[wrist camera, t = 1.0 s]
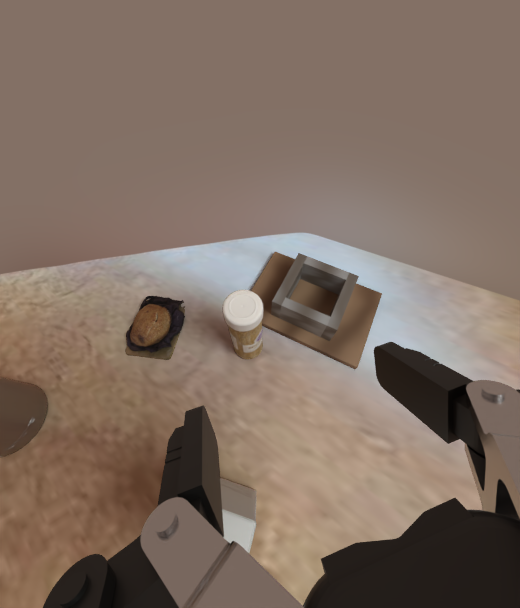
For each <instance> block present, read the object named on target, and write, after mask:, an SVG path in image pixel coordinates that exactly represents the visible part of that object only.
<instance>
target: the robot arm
mask: <svg viewBox="0 0 520 608" xmlns="http://www.w3.org/2000/svg"><path fill="white" fill-rule="evenodd" d="M374 357H375V366H376V375H377V379H378V381H379V383H380V385H381V386H382V387H383V389H385V390H386V391H387V392H388V393H389V394H390V395H392V396H393V397H394V398H395V399H396V400H397V401H399V402H400V403H401V404H402V405H403V406H404V407H406V408H407V409H408V410H409V411H410V412H411V413H413V414H414V415H415V416H416V417H417V418H418V419H420V420H421V421H422V422H423V423H424V424H426V425H427V426H428V427H429V428H430V429H431V430H433V431H434V432H435V433H436V434H437V435H438V436H440V437H441V438H442V439H443V440H444V441H445V442H447V443H448V444H449V443H451V442H454V441H456V440H458V439H461V440H462V441H463V442H465V452H466V455H467V458H468V461H469V464H470V468H471V471H472V474H473V477H474V480H475V483H476V487H477V490H478V493H479V496H480V500H481V504H482V510H483V511H482V510H466V509H465V507H464V506H463V505H462V504H461V503H460V502H459V501H458V500H457V499H456V498H453V499H451V500H449V501H447V502H444V503H442V504H440V505H438V506H436V507H434V508H431V509H429V510H427V511H425V512H423V514H422V515H421V516H420V517H419V518H418V519H417V520H416V521H415V522H414V523H413V524H412V525H411V526H410V527H409V528H408V529H407V530H406V531H405V532H404V533H403V534H402V536H400V537H399V538H397V539H391V540H381V541H371V542H360V543H355V544H353V545H350V546H348V547H346V548H344V549H342V550H339V551H337V552H335V553H333V554H331V555H328V556H326V557H324V558H322V559H321V561H322V565H323V569H324V573H325V574H324V575H323V576H322V577H321V578H320V579H319V580H318V581H317V583H316V584H315V585H314V587H313V588H312V590H311V591H310V593H309V595H308V597H307V599H306V600H305V603H304V605H303V606H302V605H301V604H300V603H299V602H298V601H297V600H296V599H295V598H294V597H293V596H292V595H291V594H290V593H289V592H288V591H287V590H286V589H285V588H284V587H283V586H282V585H281V584H280V583H279V582H278V581H277V580H276V579H275V578H274V577H273V576H271V575H270V574H269V573H268V572H267V571H266V570H265V569H264V568H263V567H262V566H261V565H260V564H259V563H258V562H257V561H256V560H255V559H254V558H253V557H252V556H251V555H250V554H249V553H248V552H247V551H246V550H245V549H244V548H243V547H242V546H241V545H239V544H238V543H237V542H235V541H232V542H231V543H229V542H228V541H227V540H225V539H224V538H223V537H224V528H223V513H222V499H221V484H220V470H219V455H218V445H217V440H216V436H215V433H214V430H213V428H212V425H211V422H210V419H209V417H208V414H207V411H206V409H205V407H204V406H200V407H198V408H195V409H192V410H189V411H186V413H185V421H184V426H182V427H179V428H176V429H175V430H174V432H173V434H172V436H171V437H170V439H169V441H168V447H167V455H166V459H165V465H164V471H163V477H162V483H161V489H160V495H159V501H158V506H157V508H156V509H155V510H154V511H153V512H152V513H151V514H150V516H149V517H148V519H147V520H146V522H145V524H144V526H143V529H142V532H141V535H140V536H139V537H138V538H137V539H136V540H134V541H133V542H132V543H131V544H129V545H128V546H127V547H125V548H124V549H123V550H121V551H120V552H118V553H117V554H116V555H114V556H113V557H112V558H110V559H109V560H108V561H107V560H106V559H105V558H104V557H103V556H102V555H99V554H93V555H89V556H87V557H85V558H83V559H81V560H80V561H78V562H77V563H75V564H74V565H73V566H72V567H71V568H70V569H69V570H68V571H67V572H66V573H65V574H64V575H63V576H62V577H61V578H60V579H59V581H58V582H57V583H56V585H55V586H54V588H53V589H52V591H51V592H50V594H49V596H48V598H47V599H46V602H45V604H44V606H43V608H520V390H515V389H513V388H512V387H510V386H508V385H505V384H502V383H499V382H495V381H489V380H478V381H472V380H470V379H468V378H467V377H465V376H463V375H461V374H459V373H457V372H456V371H454V370H452V369H450V368H448V367H446V366H444V365H443V364H439V362H437V361H435V360H433V359H430V357H428V356H426V355H424V354H422V353H421V352H418V351H414V350H411V349H407V348H406V349H404V348H402V347H401V346H399V345H397V344H395V343H393V342H389V343H386V344H383V345H380V346H377V347H375V348H374ZM47 406H48V405H47V398H46V396H45V393H44V392H43V391H42V389H40V388H39V387H37V386H35V385H32V384H28V383H24V382H19V381H15V380H11V379H7V378H2V377H0V457H2V456H6V455H9V454H12V453H14V452H16V451H17V450H19V449H21V448H22V447H23V446H25V445H26V444H27V443H28V442H29V441H30V440H31V439H32V438H33V437H34V436H35V435H36V433H37V432H38V431H39V429H40V428H41V426H42V424H43V422H44V420H45V416H46V413H47Z"/></svg>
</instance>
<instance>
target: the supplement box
mask: <svg viewBox="0 0 520 608" xmlns="http://www.w3.org/2000/svg"><path fill="white" fill-rule="evenodd" d="M220 484H221V499H222V513H223V528H224V537H223V538H224V539H225V540H227V541H228V542H229V543H231V542H232V541H235V542H237V543H238V544H239V545H241V546H242V547H243V548H244V549H245V550H246V551H247V552H248V553H249V552H250V548H251V544H252V540H253V536H254V531H255V527H256V490H254V489H251V488H249V487H246V486H243V485H240V484H237V483H234V482H232V481H229V480H226V479H223V478H220Z"/></svg>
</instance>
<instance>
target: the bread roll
mask: <svg viewBox="0 0 520 608" xmlns="http://www.w3.org/2000/svg"><path fill="white" fill-rule="evenodd" d="M148 298H149V299H150V298H151V299H150V300H148ZM182 303H184V302H183V301H177V300H172V299H170V298H163V297H157V296H148V297H146V299H145V300H144V301H143V303H142V304H141V307H140V309H139V312H138V314H137V315H136V317H135V319H134V322H133V324H132V325H131V327H130V329H129V331H128V332H127V334H126V337H127V348H126V350H125V352H126V354H127V355H133V356H140V357H148V358H156V359H164V360H169V359H170V358H171V356H172V354H173V351H174V348H175V345H176V342H177V340H178V337H179V334H180V331H181V329H182V326H183V321H184V317H185V316H184V313H185V309H184V308H185V306H184V307H181V304H182Z"/></svg>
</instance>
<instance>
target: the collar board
mask: <svg viewBox="0 0 520 608" xmlns="http://www.w3.org/2000/svg"><path fill="white" fill-rule="evenodd" d="M358 277H359V276H357V275H354V274H351V273H349V272H346V271H344V270H341V269H338V268H336V267H333V266H331V265H328V264H325V263H323V262H320V261H318V260H315V259H313V258H310V257H307V256H305V255H302V254H300V253H299V254H298V256H297V257H296V259H293V258H290V257H287V256H285V255H282V254H280V253H277V252H275V253H274V254H273V256H272V257H271V259H270V261H269V262H268V264H267V266H266V267H265V269H264V270H263V272H262V274H261V275H260V277H259V279H258V280H257V282H256V284H255V285H254V287H253V288H252V290H251V291H252V292H254V293H255V294H257V295H258V296H259V297H260V299H261V300H262V303H263V318H262V326H264V327H266V328H268V329H271V330H273V331H275V332H277V333H279V334H281V335H283V336H285V337H288V338H290V339H292V340H294V341H296V342H298V343H300V344H302V345H305V346H307V347H309V348H311V349H313V350H315V351H317V352H320V353H322V354H324V355H326V356H328V357H330V358H332V359H334V360H337V361H339V362H341V363H343V364H345V365H347V366H349V367H351V368H354V369H356V368H357V367H358V364H359V361H360V358H361V355H362V352H363V349H364V346H365V343H366V340H367V337H368V334H369V331H370V328H371V325H372V322H373V319H374V316H375V313H376V310H377V307H378V304H379V301H380V298H381V295H382V294H381V293H379V292H376V291H374V290H371V289H369V288H366V287H364V286H361V285H359V284H356V282H357V279H358Z"/></svg>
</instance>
